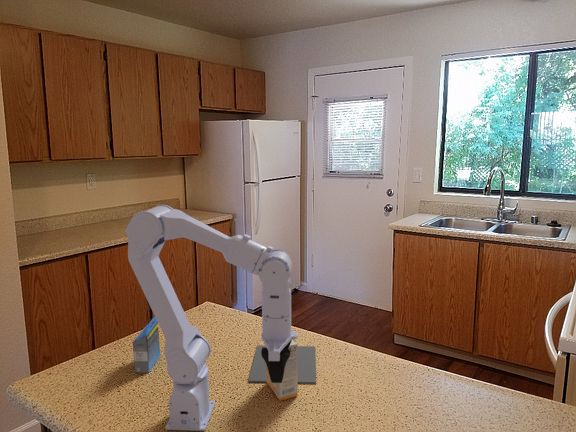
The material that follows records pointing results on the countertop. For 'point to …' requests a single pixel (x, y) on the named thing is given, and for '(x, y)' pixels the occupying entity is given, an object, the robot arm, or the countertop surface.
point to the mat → (304, 366)
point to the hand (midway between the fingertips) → (277, 376)
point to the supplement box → (287, 376)
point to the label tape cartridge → (146, 348)
